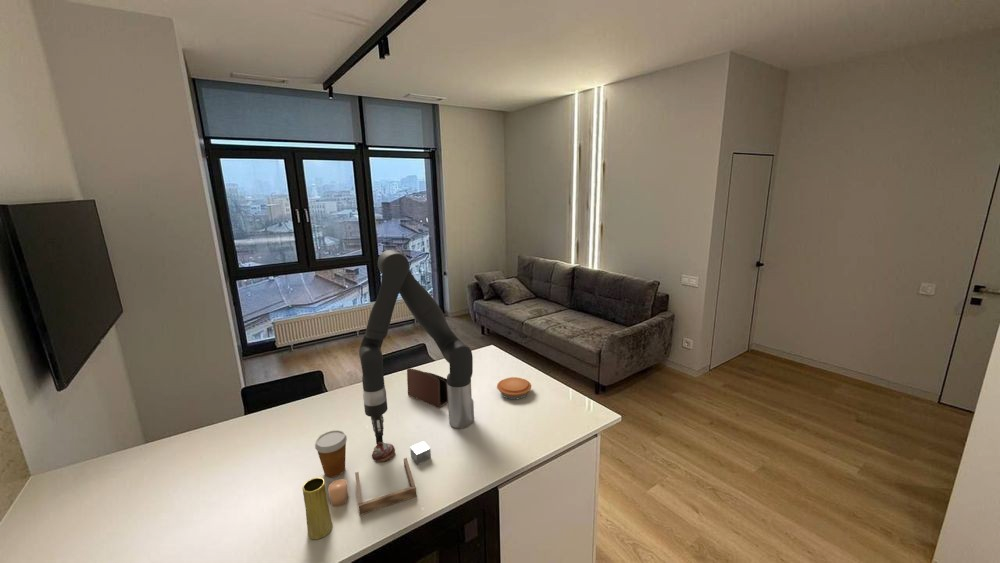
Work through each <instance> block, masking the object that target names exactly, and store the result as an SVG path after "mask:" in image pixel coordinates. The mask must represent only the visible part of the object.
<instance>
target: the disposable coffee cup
mask: <svg viewBox="0 0 1000 563" xmlns="http://www.w3.org/2000/svg"><path fill="white" fill-rule="evenodd" d="M347 441H348V435H346V433H345V432H344V431H343V430H338V429H334V430H333V429H332V430H329V431H326V432H323V433H322V434H321V435H319V436H318V437H317V439H316V440H315V444H314V449H315V450H316V451H317V455H318V458H319V462H320V464H321V468H322V470H323V474H324V476H325V477H327V478H334V477H339V476H340V475H342V474H343V473H344V471H345V470H346V449H347V448H346V447H347V445H346V444H347Z"/></svg>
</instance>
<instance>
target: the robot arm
mask: <svg viewBox="0 0 1000 563" xmlns="http://www.w3.org/2000/svg"><path fill="white" fill-rule="evenodd" d="M377 267H378V271H379V272H380V273H381V282H380V287H379V292H378V294H377V297H376V299H375V301H374V303H373V306H372V308H371V310H370V313H369V316H368V320H367V325H366V328H365V333H364V335H363V338H362V340H361V342H360V345H359V346H360V347H359V351H358V356H359V359H360V360H359V361H360V364H361V373H362V377H361V379H362V389H363V391H362V392H363V393H362V396H363V397H362V398H363V406H364V413H365V415H366V416H367V417H370V420H371V425H372V431H373V432H374V437H375V444H376V445H377V444H378V442H383V443H384V439H383V438H384V437H383V436H384V422H385V421H384V420H385V419H384V414H385V413H386V412H387V411H388V399H387V389H386V384H385V377H384V356H383V353H382V346H383V342H384V340H385V339H386V337H387V336H388V332H389V329H390V325H391V322H392V316H393V313H394V310H395V306H396V302H397V299H398V296H399V295H400V296H401V298H402V300H403V302H404V303H405V306H407V309H408V310H409V311H410V313H411V314H412V316H413V317H414V319H415V321H416V322H418V324H419V326H420V327H421V328H422V329H423V330H424V331H425V332H426V333H427V334H428V335H429V337H431V338H432V340H434V342H435V344H436V345H437V347H438V348H439V350H440V353H441V354H442V357H443V358H444V360H446V362H447V363H448V365H449V373H448V374H447V375H446V379H447V392H448V403H447V408H448V423H449V426H450V427H452V428H455V429H465V428H467V427H470V426H471V425H472V424H474V423H475V410H474V409H475V406H474V405H475V404H474V403H475V401H474V399H473V398H472V397H473V396H472V376H473V373H474V372H473V368H474V367H473V364H474V361H473V357H474V356H473V352H472V350H471V349H472V348H470V347H469V346H468V345H467V344H466V343H464V342H463V341H462V340H461V339H459V337H457V335H456V334H455V333H454V332H453V330H452V329H451V328H450V327H449V324H448V322H447V319H446V316H445V314H444V312H443V310H442V309H441V307H440V305H439V304H438V303H437V302H436V300H435V299H434V298H433V296H431V294H430V293H429V291H428V290H426V289H425V287H423V285H422V284H421V283H420V282H419V281H418V280H417V279H416V278H415V276H414V275H413V273H412V271H411V270H410V262H409V259H408V258H407V257H406V256H405V255H404V254H403V253H401V252H400V251H398V250H393V249H392V250H391V249H390V250H389V249H388V250H385V251H383V252H382V253H381V254H380V255H379V256H378V259H377Z"/></svg>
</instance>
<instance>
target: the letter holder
mask: <svg viewBox="0 0 1000 563" xmlns="http://www.w3.org/2000/svg"><path fill="white" fill-rule="evenodd" d="M406 377H407V378H406V381H407V396H409V397H412V398H413V399H416V400H419V401H421V402H423V403H425V404H427V405H430V406H432V407H435V408H438V409H441V408H443V407H444V406H446V405H448V392H447V377H443V376H440V375H438V374H435V373H432V372H428V371H427V372H426V371H423V370H419V369H414V368H407V369H406Z"/></svg>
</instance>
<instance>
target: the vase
mask: <svg viewBox="0 0 1000 563" xmlns="http://www.w3.org/2000/svg"><path fill="white" fill-rule="evenodd" d="M301 489H302V493H303V494H302V495H303V501H304V507H305V516H306V517H305V518H306V519H305V520H306V526H307V527H306V529H307V537H308V538H310V539H311V540H319V539H323V538H324V537H326V536H327V535H328V534H329V533H330V532H331V531H332V529H333V525H334V524H333V521H332V516H331V512H330V506H329V501H328V495H327V494H328V493H327V490H326V489H327V488H326V483H325V479H324V478H322V477H312V478H311V479H309V480H307V481H305V483H304V484H303V486H302V488H301Z"/></svg>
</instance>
